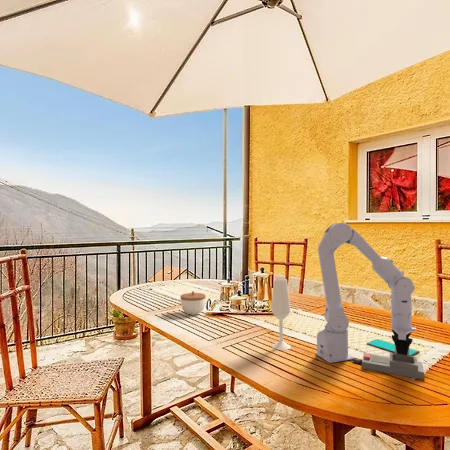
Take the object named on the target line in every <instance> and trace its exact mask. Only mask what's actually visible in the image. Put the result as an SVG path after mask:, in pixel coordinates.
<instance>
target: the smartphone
mask: <svg viewBox="0 0 450 450" xmlns="http://www.w3.org/2000/svg"><path fill="white" fill-rule="evenodd" d="M366 345H367V346H370V347H374V348H377V349H380V350H383V351H386V352H388V353H395V343H394V342H393V343H392V342H388V341H385V340H382V339H378V338H377V339H374V340H372V341H369V342H367V343H366ZM418 354H420V351H419V350H416V349H413V348H410V347H409V356H416V355H418Z"/></svg>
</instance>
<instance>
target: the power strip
mask: <svg viewBox="0 0 450 450" xmlns="http://www.w3.org/2000/svg"><path fill="white" fill-rule="evenodd" d="M352 362H353V363H356V364H361V369H362V370H363V369H364V370H368V371H374V372H380V373H385V374H391V375H398V376H400V377H407V378H412V379H419V380H424V381H425V371H424V365H423V361H418V357H417V356H416V355H414V356H409V355H402V354H396V353H392V352H389V356H385V355H379V354H372V353H366V352H364V353H363V355H362V359H357V358H354V359H352Z"/></svg>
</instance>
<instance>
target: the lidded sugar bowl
mask: <svg viewBox="0 0 450 450" xmlns="http://www.w3.org/2000/svg"><path fill="white" fill-rule="evenodd" d="M206 297H207V296H206V294H205V293H202V292H195V291H193V290H192V291H191V292H188V293H187V292H186V293H184V294H181V295H180V306H181V309H182V311H183V312H184V313H185V314H186V313H187V314H198V313H200V314H201V313H202V312H203V310H204V308H205V306H206ZM187 314H186V315H187ZM198 315H199V314H198Z"/></svg>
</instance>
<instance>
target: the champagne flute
mask: <svg viewBox="0 0 450 450" xmlns="http://www.w3.org/2000/svg"><path fill="white" fill-rule="evenodd" d="M289 295H290V294H289V286H288V279H286V278H274V279H273V286H272V299H271V308H270V309H271V314H273V315H274V316H275V318H277V319H278V320H279V321H278V323H279V328H278V329H279V341H277V342H274V343H273V344H272V346H271V347H272V348H273V349H274V350H279V351H286V350H290V349H291V345H290V344H288V343H287V342H285V341H284V337H283V335H284V333H283V332H284V330H283V329H284V328H283V327H284V324H283V321H284V319H286V318H287V317H288V316H289V315H290V312H291V304H290V303H291V302H290V296H289Z"/></svg>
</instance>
